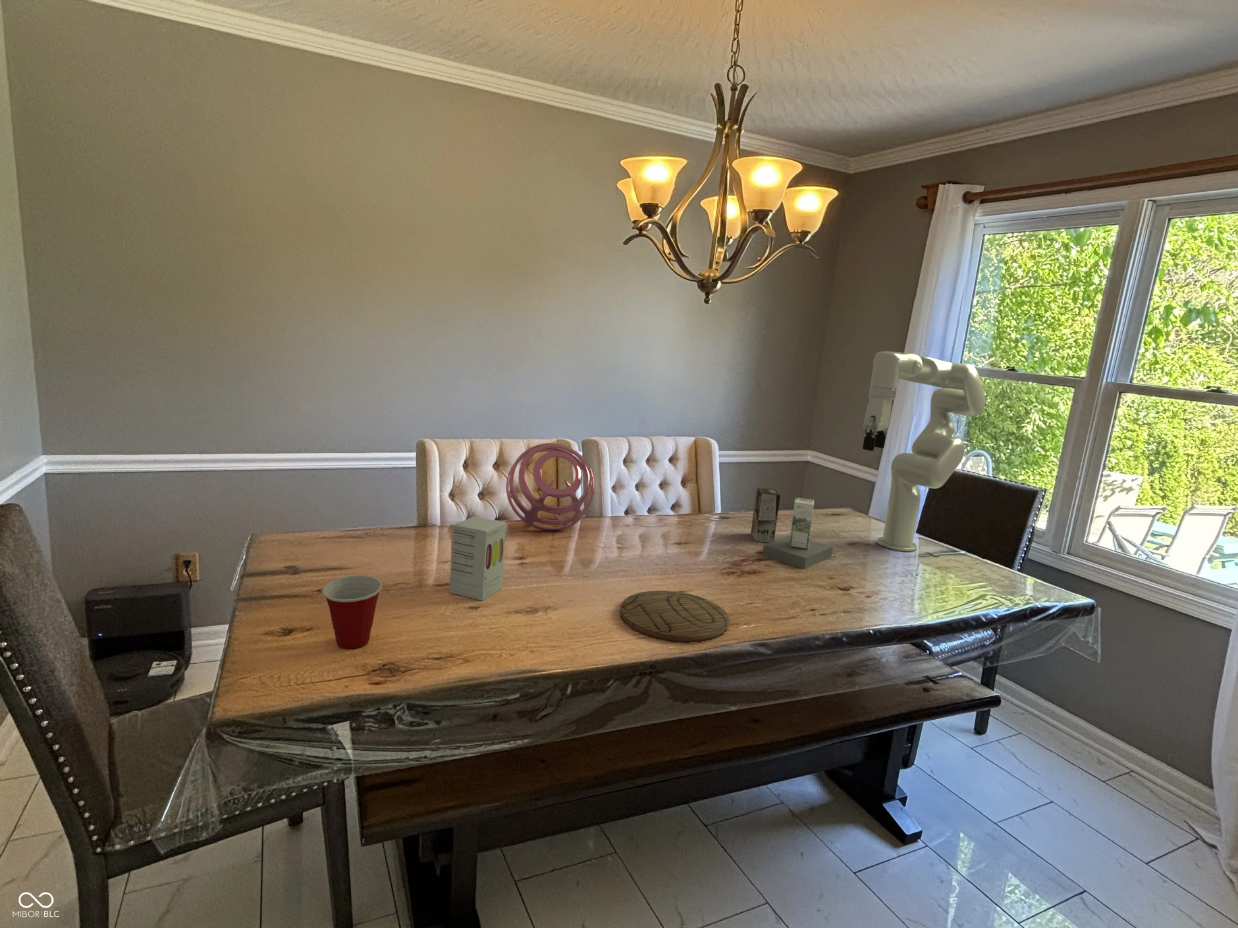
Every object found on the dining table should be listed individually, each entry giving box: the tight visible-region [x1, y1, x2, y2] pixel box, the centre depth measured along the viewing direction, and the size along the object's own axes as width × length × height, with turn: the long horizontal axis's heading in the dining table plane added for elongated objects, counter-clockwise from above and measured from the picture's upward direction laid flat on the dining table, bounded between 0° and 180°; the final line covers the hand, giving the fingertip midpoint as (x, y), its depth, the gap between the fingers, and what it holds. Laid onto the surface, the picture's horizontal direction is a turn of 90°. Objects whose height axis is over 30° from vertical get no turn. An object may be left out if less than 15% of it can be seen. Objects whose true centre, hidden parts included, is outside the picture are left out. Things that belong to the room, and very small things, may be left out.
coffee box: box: [750, 487, 781, 543], centre depth 224 cm, size 9×6×16 cm
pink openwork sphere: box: [505, 442, 596, 532], centre depth 217 cm, size 28×28×27 cm
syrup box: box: [789, 497, 815, 549], centre depth 207 cm, size 6×6×14 cm
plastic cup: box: [321, 574, 383, 650], centre depth 131 cm, size 11×11×12 cm
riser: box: [762, 535, 834, 570], centre depth 209 cm, size 18×14×4 cm
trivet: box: [619, 590, 730, 644], centre depth 157 cm, size 25×25×2 cm
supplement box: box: [449, 515, 507, 601], centre depth 161 cm, size 10×9×17 cm
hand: (873, 448), depth 210 cm, fingers open, 9 cm apart
